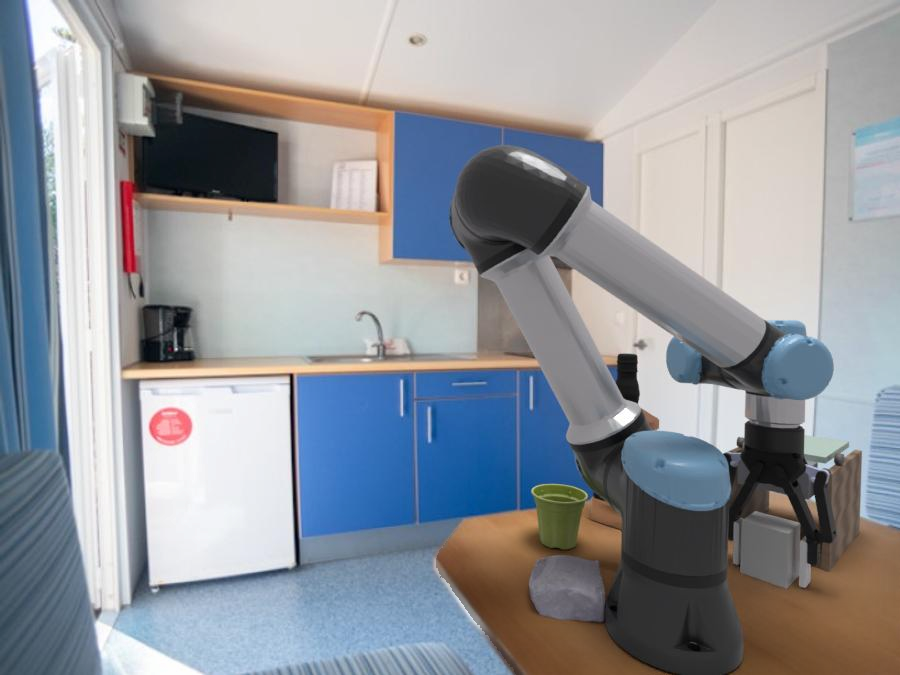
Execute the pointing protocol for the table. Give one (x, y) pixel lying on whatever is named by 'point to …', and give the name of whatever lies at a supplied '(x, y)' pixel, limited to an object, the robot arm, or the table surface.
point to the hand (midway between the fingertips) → (770, 572)
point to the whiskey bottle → (631, 392)
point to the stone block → (568, 588)
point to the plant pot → (559, 514)
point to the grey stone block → (770, 548)
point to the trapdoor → (813, 453)
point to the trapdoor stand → (843, 502)
